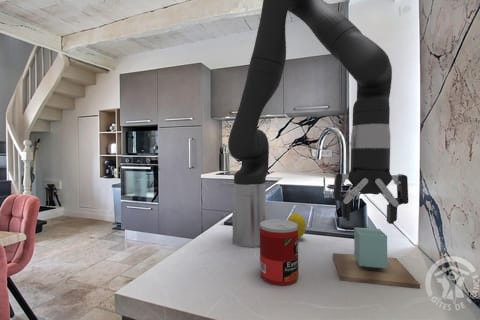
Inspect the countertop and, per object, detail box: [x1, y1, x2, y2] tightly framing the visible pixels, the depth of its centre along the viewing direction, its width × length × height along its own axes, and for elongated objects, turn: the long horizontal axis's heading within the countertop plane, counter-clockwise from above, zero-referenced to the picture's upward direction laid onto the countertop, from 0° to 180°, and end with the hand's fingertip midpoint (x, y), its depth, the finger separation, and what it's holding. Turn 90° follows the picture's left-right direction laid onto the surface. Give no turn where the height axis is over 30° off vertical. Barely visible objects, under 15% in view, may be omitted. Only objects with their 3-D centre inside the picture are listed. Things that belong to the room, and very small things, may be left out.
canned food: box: [259, 218, 299, 286], centre depth 51 cm, size 8×8×11 cm
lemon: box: [287, 212, 307, 239], centre depth 74 cm, size 6×6×8 cm
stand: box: [332, 252, 421, 289], centre depth 53 cm, size 14×12×8 cm
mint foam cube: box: [353, 227, 388, 268], centre depth 53 cm, size 5×5×7 cm
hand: (368, 221), depth 53 cm, fingers open, 8 cm apart
